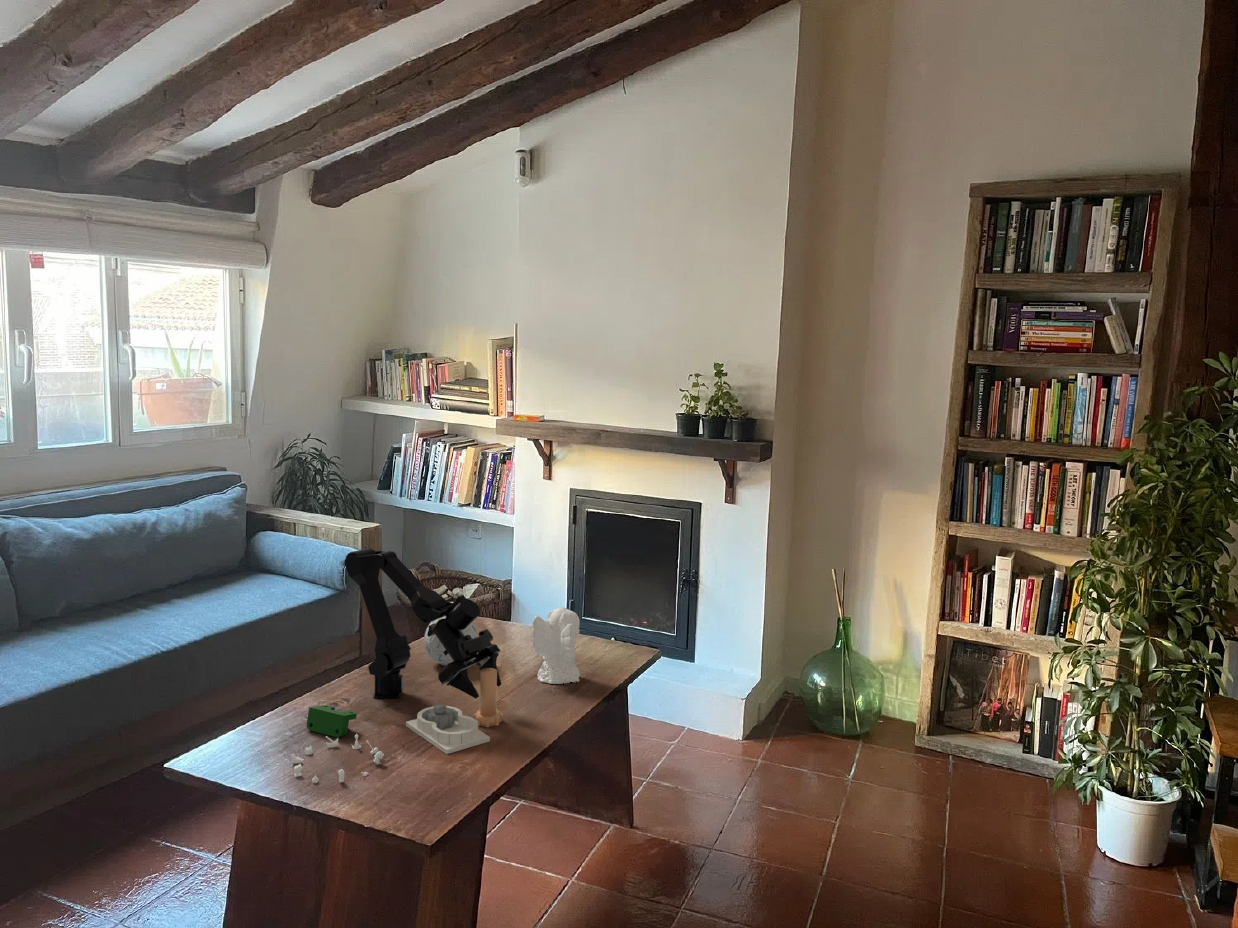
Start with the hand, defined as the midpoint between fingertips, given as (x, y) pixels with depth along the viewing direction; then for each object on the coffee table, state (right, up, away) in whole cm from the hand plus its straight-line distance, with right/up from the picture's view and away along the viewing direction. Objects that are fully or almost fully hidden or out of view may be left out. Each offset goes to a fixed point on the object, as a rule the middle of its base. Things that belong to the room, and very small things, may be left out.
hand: (489, 691), depth 231 cm
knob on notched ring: (0, -8, +1) cm, 8 cm away
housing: (-9, -8, -6) cm, 14 cm away
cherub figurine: (+16, -4, +31) cm, 35 cm away
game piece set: (-30, -11, -24) cm, 40 cm away
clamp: (-36, -8, -7) cm, 38 cm away
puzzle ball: (-17, -2, +40) cm, 43 cm away
